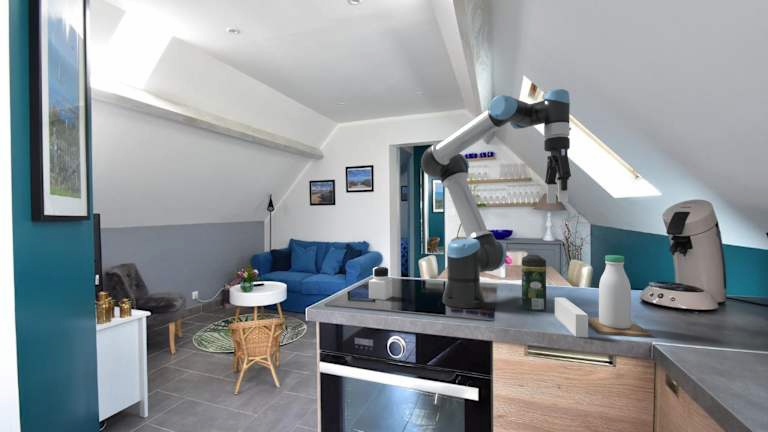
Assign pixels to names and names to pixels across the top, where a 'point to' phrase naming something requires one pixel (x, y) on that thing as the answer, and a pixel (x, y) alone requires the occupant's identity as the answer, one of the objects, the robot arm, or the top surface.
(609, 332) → the walnut pad
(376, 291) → the medicine bottle
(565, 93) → the robot arm
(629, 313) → the milk bottle
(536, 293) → the coffee jar
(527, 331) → the top surface
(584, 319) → the low wall
